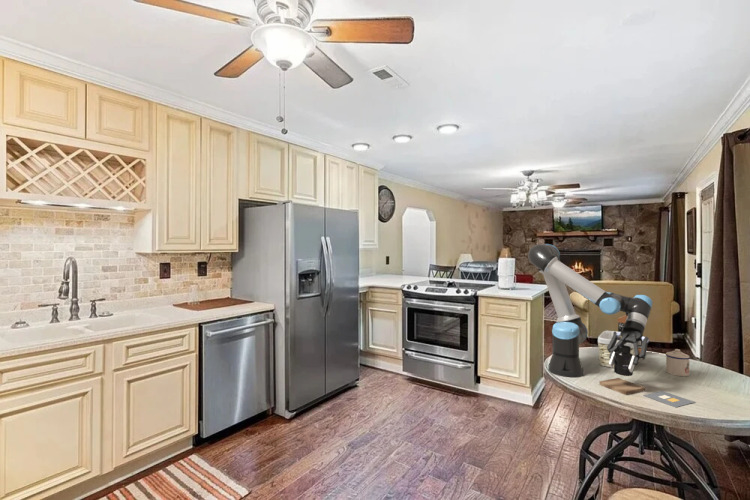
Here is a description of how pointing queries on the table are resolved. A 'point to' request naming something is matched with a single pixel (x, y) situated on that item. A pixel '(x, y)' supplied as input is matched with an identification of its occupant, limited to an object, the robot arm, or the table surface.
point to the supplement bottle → (622, 360)
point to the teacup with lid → (677, 363)
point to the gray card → (669, 399)
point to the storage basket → (603, 344)
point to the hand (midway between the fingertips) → (620, 368)
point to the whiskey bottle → (620, 328)
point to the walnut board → (622, 386)
